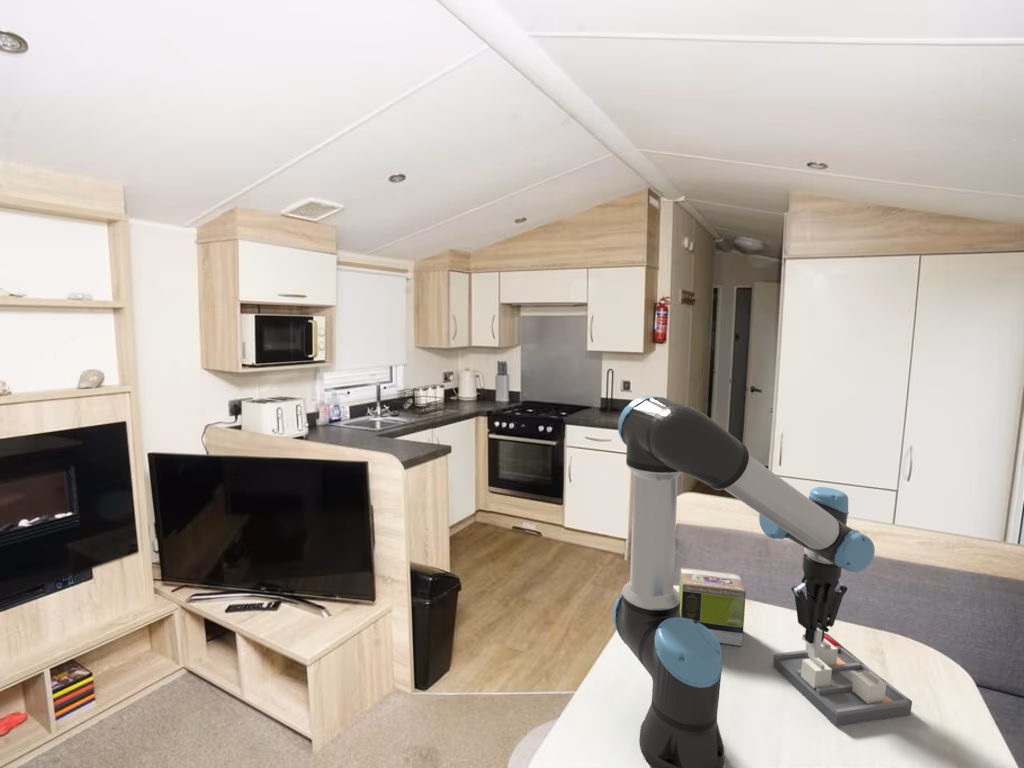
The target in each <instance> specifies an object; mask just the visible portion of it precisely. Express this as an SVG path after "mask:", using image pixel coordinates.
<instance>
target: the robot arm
mask: <svg viewBox="0 0 1024 768" xmlns="http://www.w3.org/2000/svg"><path fill="white" fill-rule="evenodd" d="M617 430H618V434H619V437H620V439H621V441H622V442H623V443H624V445H625V446H626V454H625V455H626V456H625V457H626V458H625V461H626V463H625V465H626V466H627V467H628V469H629V470H631V471H632V472H633V481H632V485H633V487H632V513H631V514H632V517H631V519H632V520H631V542H630V543H631V545H630V546H631V547H630V548H631V549H630V572H629V573H630V575H629V576H630V578H629V581H628V582H627V583H625V584H624V585H623V587H622V591H621V593H620V594H619V595H620V596H619V597H618V598H616V600H615V602H614V604H613V608H612V622H613V624H614V627H615V630H616V632H617V634H618V635H619V637H620V639H621V640H622V641H623V643H624V644H625V645H626V646H627V647H628V648H629V649H630V651H631V652H632V653H633V655H634V656H635V657H636V658H637V660H638V661H639V662H640V663H641V665H642V666H643V668H644V670H646V671H647V672H648V674H649V675H650V677H651V679H652V689H651V690H652V693H651V704H650V706H649V708H648V710H647V713H646V715H645V717H644V720H643V721H642V723H641V724H640V725H641V726H640V728H639V729H640V730H639V748H640V752H641V754H642V755H643V757H644V758H645V761H647V762H648V764H649V765H650V766H651V767H652V768H724V762H725V747H724V743H723V738H722V735H721V731H720V728H719V727H720V726H719V723H718V710H719V709H718V708H719V701H720V700H719V699H720V690H721V681H722V672H723V657H722V656H723V655H722V653H723V652H722V647H721V643H719V642H718V640H717V638H716V637H715V635H714V634H713V633H712V632H711V631H710V630H709V629H708V628H706V627H705V626H704V625H702V624H700V623H694V622H693V620H691V619H687V618H681V617H680V595H679V590H677V589H676V588H675V587H674V573H675V570H674V569H675V550H676V549H675V548H676V547H675V546H676V527H677V524H676V523H677V502H678V484H679V483H678V480H679V476H681V474H684V475H687V476H690V477H692V478H694V479H696V480H697V481H700V482H702V483H704V484H705V485H707V486H709V487H710V488H711V489H714V490H716V491H717V490H718V491H723V490H724V491H726V492H727V493H728V494H730V495H732V496H733V497H734V498H735V499H737V500H739V501H741V502H742V503H743V504H744V505H746V506H748V507H749V508H751V509H752V510H754V511H755V512H757V513H758V514H759V515H758V522H759V527H760V529H761V530H762V532H763V533H764V535H765V536H767V537H768V538H770V539H773V540H777V539H779V540H784V539H788V540H791V541H792V542H795V543H796V544H798V545H800V546H802V547H803V548H804V549H803V552H804V555H803V559H802V570H803V577H802V578H801V583H800V584H798V586H796V585H792V586H791V591H792V593H793V595H794V601H795V607H796V615H797V623H798V625H800V626H801V627H803V628H804V629H805V631H804V633H805V640H806V641H805V650H806V652H807V653H808V654H809V655H810V656H814V657H815V658H820V650H821V642H823V640H824V633H828V632H829V631H830V629H829V627H831V628H833V626H834V625H835V623H836V622H835V621H836V618H837V616H838V612H839V609H840V606H841V603H842V600H843V597H844V595H845V594H846V593H847V591H848V587H847V586H846V585H844V584H843V583H841V582H840V580H839V579H840V578H841V575H842V569H844V570H846V571H848V572H850V573H860V572H862V571H865V569H867V568H868V567H869V566H870V564H871V562H872V561H873V559H874V557H875V545H874V542H873V541H872V539H871V538H870V537H869V536H867V535H866V534H864V533H861V532H860V531H859V530H858V529H853V528H852V527H849V526H847V522H848V515H849V496H848V495H847V494H846V493H845V492H843V491H842V490H839V489H836V488H831V487H826V486H821V487H820V486H817V487H813V488H811V489H810V493H809V496H806V494H803V493H801V492H800V491H799V490H798V489H796V488H795V487H794V486H792V485H790V483H789V482H787V481H785V480H784V479H783V478H781V477H780V476H778V475H777V474H776V473H774V472H773V471H771V470H770V469H769V468H767V467H766V466H764V465H763V464H762V463H760V462H759V461H757V460H756V459H755V458H754V457H752V456H751V452H750V450H749V448H748V446H747V445H746V444H745V443H743V442H741V441H740V440H739V439H737V437H735V436H734V435H732V434H731V433H730V432H729V431H727V430H726V429H725V428H723V426H721V425H720V424H718V423H717V422H716V421H715V420H713V419H712V418H710V417H709V416H708V415H707V414H705V413H703V412H702V411H700V410H699V409H697V408H694V407H691V406H689V405H684V404H682V403H677V402H674V401H671V400H669V399H668V398H665V397H663V396H662V397H661V396H660V397H659V396H653V395H643V396H641V397H637V398H635V399H634V400H632V401H631V402H630V403H628V404H627V406H625V407H624V409H623V410H622V411H621V414H620V416H619V418H618V423H617Z"/></svg>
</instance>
